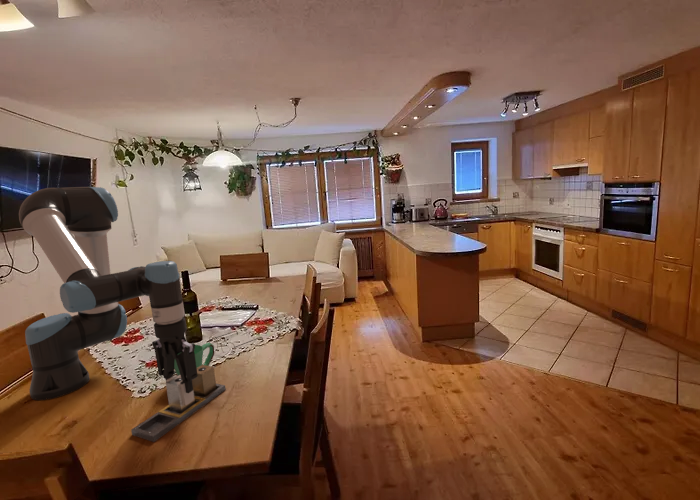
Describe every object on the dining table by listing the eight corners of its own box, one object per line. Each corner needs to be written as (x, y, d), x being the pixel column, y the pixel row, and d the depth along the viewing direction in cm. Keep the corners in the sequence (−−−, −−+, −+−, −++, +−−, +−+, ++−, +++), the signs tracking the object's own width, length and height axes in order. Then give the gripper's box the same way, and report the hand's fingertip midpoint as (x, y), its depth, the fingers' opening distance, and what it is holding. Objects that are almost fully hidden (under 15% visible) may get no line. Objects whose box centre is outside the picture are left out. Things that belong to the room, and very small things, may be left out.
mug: (186, 391, 108) (181, 360, 107) (167, 384, 113) (162, 354, 112) (225, 369, 120) (221, 341, 119) (206, 364, 125) (202, 337, 124)
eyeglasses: (207, 348, 140) (205, 336, 139) (237, 335, 152) (236, 324, 152) (232, 356, 131) (231, 344, 131) (263, 341, 143) (262, 329, 143)
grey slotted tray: (132, 436, 88) (131, 429, 88) (206, 386, 110) (205, 381, 110) (154, 443, 85) (153, 436, 85) (225, 390, 107) (225, 385, 106)
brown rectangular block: (193, 397, 104) (190, 371, 102) (205, 389, 108) (202, 364, 106) (205, 400, 102) (201, 373, 100) (217, 391, 106) (213, 366, 105)
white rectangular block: (169, 410, 96) (165, 382, 95) (183, 400, 100) (179, 374, 99) (181, 413, 94) (177, 385, 93) (195, 403, 98) (191, 376, 97)
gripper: (133, 322, 94) (147, 403, 97) (181, 328, 87) (194, 415, 90) (158, 312, 100) (170, 388, 104) (205, 317, 93) (216, 399, 97)
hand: (181, 400), depth 97 cm, fingers closed on white rectangular block, 4 cm apart
